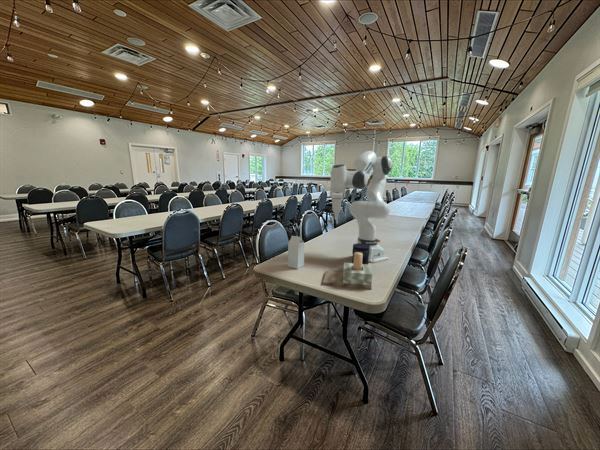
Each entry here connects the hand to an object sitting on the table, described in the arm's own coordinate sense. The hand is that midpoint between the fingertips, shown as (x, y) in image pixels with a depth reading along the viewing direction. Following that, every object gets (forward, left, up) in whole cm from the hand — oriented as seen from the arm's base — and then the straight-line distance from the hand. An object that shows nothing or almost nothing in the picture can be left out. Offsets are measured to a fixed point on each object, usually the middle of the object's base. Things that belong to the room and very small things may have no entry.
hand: (336, 218), depth 143 cm
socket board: (+2, +17, -31) cm, 35 cm away
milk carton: (+20, -12, -31) cm, 39 cm away
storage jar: (-14, +6, -31) cm, 35 cm away
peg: (-2, +20, -30) cm, 36 cm away
